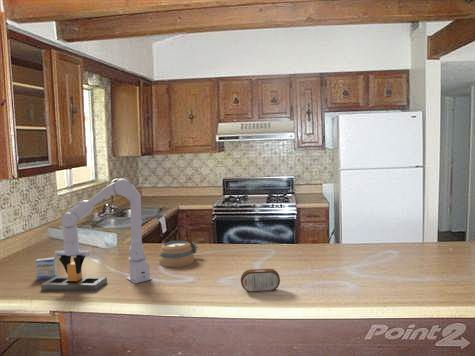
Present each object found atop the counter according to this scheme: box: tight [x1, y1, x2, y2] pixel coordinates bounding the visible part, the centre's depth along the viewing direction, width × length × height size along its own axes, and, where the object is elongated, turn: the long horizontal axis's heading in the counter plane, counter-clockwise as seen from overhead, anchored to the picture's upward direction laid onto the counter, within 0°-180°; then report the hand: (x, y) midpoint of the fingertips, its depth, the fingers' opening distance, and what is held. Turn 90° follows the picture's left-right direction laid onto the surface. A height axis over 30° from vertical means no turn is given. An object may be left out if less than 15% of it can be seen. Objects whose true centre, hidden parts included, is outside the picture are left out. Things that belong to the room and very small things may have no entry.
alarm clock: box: [158, 240, 199, 268], centre depth 203 cm, size 17×9×23 cm
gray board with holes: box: [40, 276, 108, 292], centre depth 172 cm, size 24×10×2 cm, turn 81°
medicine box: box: [35, 256, 58, 281], centre depth 185 cm, size 8×4×9 cm, turn 105°
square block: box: [66, 261, 83, 281], centre depth 172 cm, size 4×4×7 cm
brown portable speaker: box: [240, 268, 281, 293], centre depth 157 cm, size 15×3×8 cm, turn 92°
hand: (73, 272), depth 171 cm, fingers closed on square block, 4 cm apart
